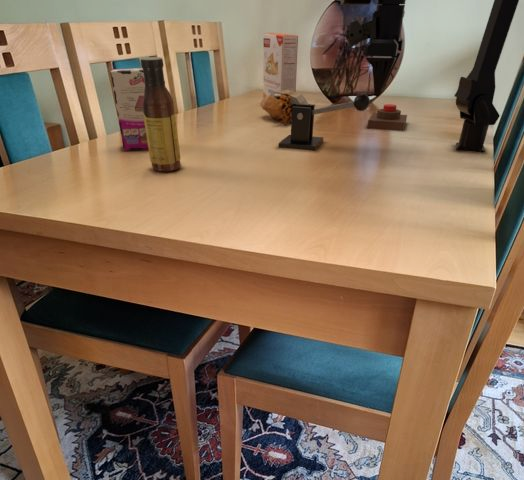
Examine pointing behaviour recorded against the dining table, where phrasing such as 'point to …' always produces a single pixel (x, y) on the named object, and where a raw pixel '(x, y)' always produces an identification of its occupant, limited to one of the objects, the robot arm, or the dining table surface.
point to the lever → (347, 105)
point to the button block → (387, 120)
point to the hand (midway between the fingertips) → (379, 91)
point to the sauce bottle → (159, 118)
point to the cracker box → (279, 62)
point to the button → (389, 108)
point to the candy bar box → (130, 107)
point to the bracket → (302, 130)
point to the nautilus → (282, 104)
